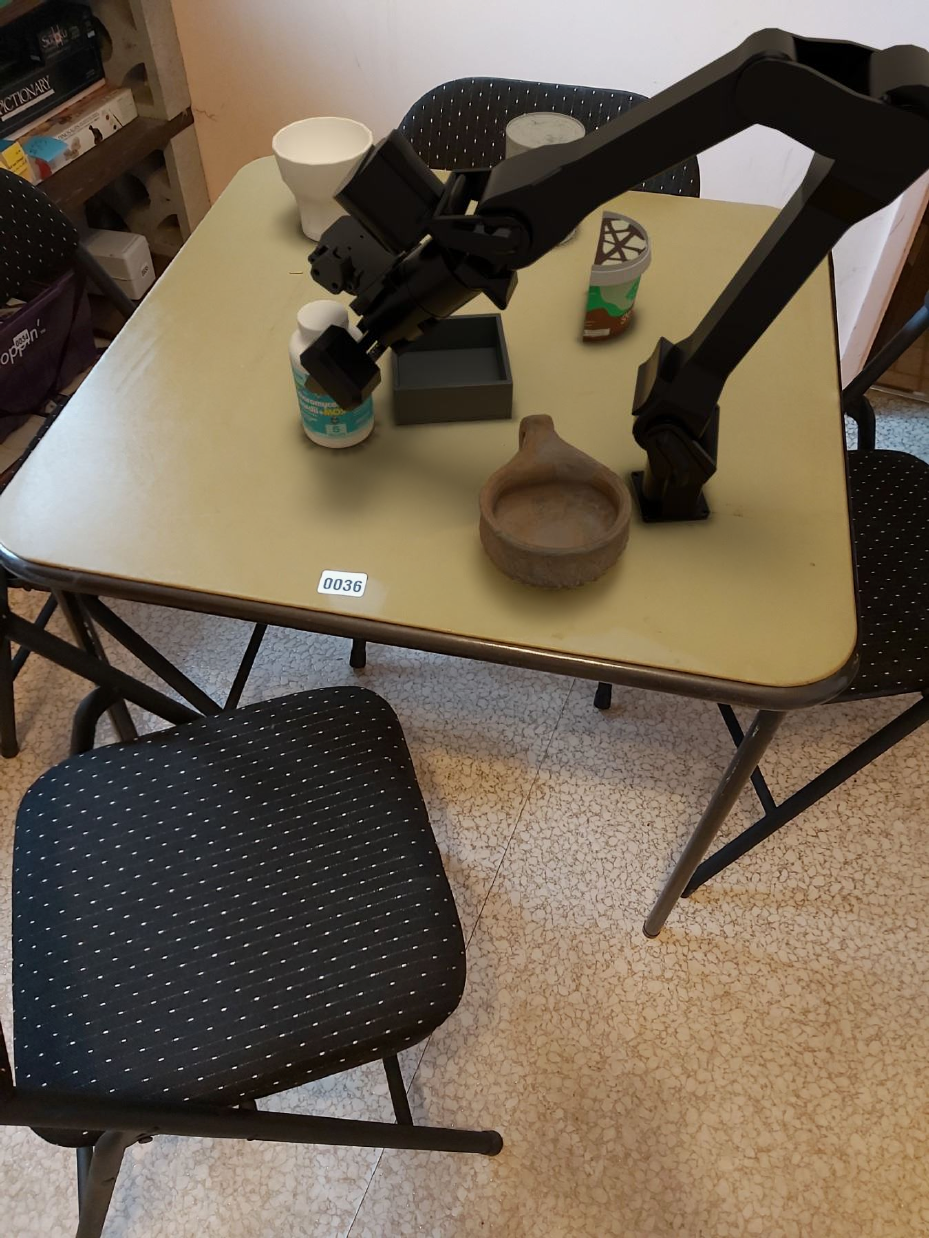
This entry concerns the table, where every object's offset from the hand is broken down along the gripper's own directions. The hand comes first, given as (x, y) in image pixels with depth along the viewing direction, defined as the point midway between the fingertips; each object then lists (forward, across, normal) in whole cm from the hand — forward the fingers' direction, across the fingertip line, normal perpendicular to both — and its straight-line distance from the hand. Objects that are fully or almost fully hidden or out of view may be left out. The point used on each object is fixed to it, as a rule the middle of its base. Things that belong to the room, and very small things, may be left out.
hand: (333, 360), depth 81 cm
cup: (+21, -34, -9) cm, 41 cm away
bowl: (-11, +5, +23) cm, 26 cm away
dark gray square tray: (+1, -11, +11) cm, 16 cm away
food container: (-8, -30, +20) cm, 37 cm away
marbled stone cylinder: (+4, -45, +9) cm, 46 cm away
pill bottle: (+6, 0, +6) cm, 9 cm away
